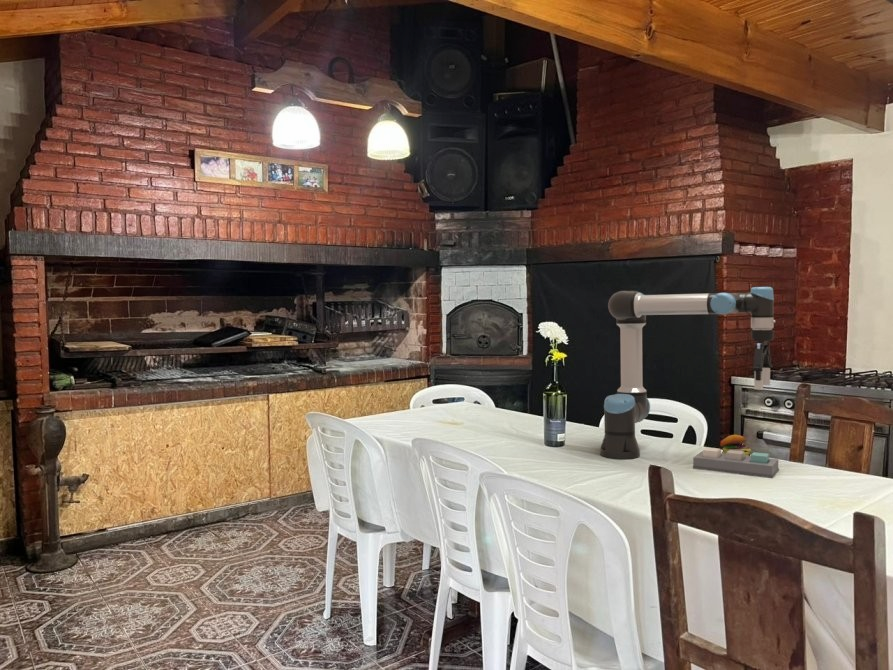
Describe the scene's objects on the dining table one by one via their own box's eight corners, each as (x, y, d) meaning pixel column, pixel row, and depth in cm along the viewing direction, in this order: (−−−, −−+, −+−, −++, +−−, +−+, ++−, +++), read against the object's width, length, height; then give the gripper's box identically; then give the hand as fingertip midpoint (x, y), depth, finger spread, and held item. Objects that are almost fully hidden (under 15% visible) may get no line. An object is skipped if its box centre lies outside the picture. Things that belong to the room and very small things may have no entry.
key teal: (750, 465, 229) (750, 454, 229) (753, 462, 233) (753, 452, 233) (766, 466, 226) (766, 456, 226) (769, 463, 230) (769, 453, 230)
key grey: (726, 462, 234) (726, 452, 234) (729, 459, 238) (729, 449, 238) (741, 463, 231) (741, 454, 231) (744, 461, 235) (744, 451, 235)
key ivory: (702, 459, 238) (702, 449, 238) (706, 456, 242) (706, 447, 242) (717, 461, 235) (717, 451, 235) (720, 458, 240) (720, 448, 239)
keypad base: (692, 468, 237) (692, 457, 237) (701, 461, 247) (701, 451, 247) (772, 478, 222) (772, 466, 222) (778, 470, 232) (778, 459, 232)
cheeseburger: (735, 462, 244) (730, 435, 246) (716, 463, 255) (712, 436, 256) (758, 459, 247) (753, 432, 249) (738, 460, 257) (734, 434, 259)
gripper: (767, 330, 228) (767, 391, 229) (779, 327, 249) (779, 384, 250) (743, 330, 233) (744, 390, 234) (757, 327, 253) (757, 383, 254)
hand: (762, 387), depth 242 cm, fingers open, 13 cm apart
